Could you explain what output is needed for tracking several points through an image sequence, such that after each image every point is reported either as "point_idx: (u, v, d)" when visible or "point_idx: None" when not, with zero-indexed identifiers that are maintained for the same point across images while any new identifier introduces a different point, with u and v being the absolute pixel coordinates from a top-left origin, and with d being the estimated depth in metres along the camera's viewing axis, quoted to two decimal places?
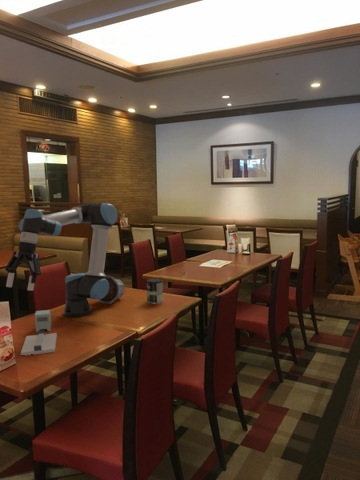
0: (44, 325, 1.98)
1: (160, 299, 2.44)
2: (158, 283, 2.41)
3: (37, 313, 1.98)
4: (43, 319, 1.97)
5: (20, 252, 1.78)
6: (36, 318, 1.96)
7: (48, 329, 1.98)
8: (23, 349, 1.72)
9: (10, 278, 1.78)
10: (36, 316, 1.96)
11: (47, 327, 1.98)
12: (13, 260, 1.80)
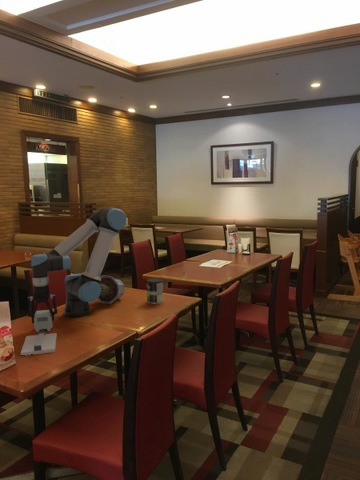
0: (44, 325, 1.98)
1: (160, 299, 2.44)
2: (158, 283, 2.41)
3: (37, 313, 1.98)
4: (43, 319, 1.97)
5: (35, 295, 1.97)
6: (36, 318, 1.96)
7: (48, 329, 1.98)
8: (23, 349, 1.72)
9: None
10: (36, 316, 1.96)
11: (47, 327, 1.98)
12: (30, 305, 1.98)
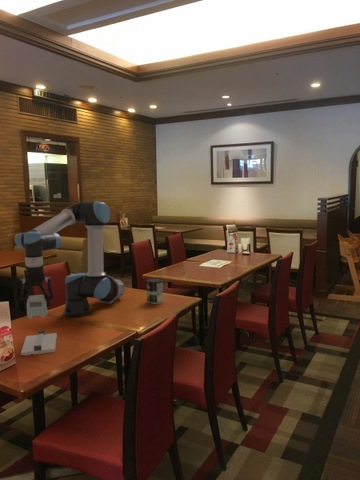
0: (38, 311, 1.75)
1: (160, 299, 2.44)
2: (158, 283, 2.41)
3: (30, 297, 1.76)
4: (37, 304, 1.74)
5: (28, 277, 1.75)
6: (29, 303, 1.74)
7: (42, 316, 1.76)
8: (23, 349, 1.72)
9: None
10: (28, 301, 1.74)
11: (41, 313, 1.76)
12: (23, 288, 1.75)
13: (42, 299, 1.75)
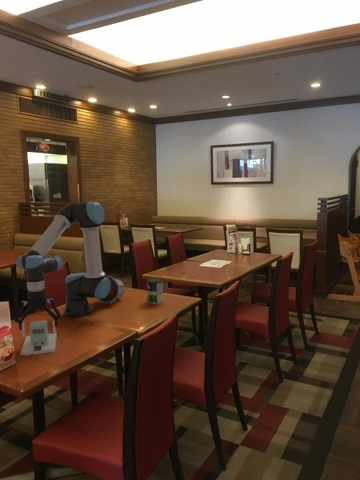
0: (40, 338, 1.76)
1: (160, 299, 2.44)
2: (158, 283, 2.41)
3: (32, 324, 1.77)
4: (39, 331, 1.76)
5: (31, 301, 1.76)
6: (31, 330, 1.75)
7: (45, 342, 1.77)
8: (23, 349, 1.72)
9: (23, 328, 1.77)
10: (31, 328, 1.75)
11: (43, 340, 1.77)
12: None
13: (44, 326, 1.76)
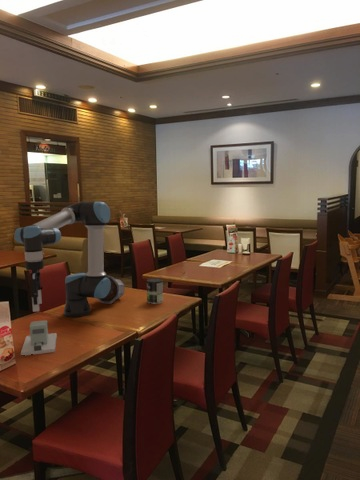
0: (40, 338, 1.76)
1: (160, 299, 2.44)
2: (158, 283, 2.41)
3: (32, 324, 1.77)
4: (39, 331, 1.76)
5: (37, 272, 1.73)
6: (31, 330, 1.75)
7: (45, 342, 1.77)
8: (23, 349, 1.72)
9: None
10: (31, 328, 1.75)
11: (43, 340, 1.77)
12: None
13: (44, 326, 1.76)
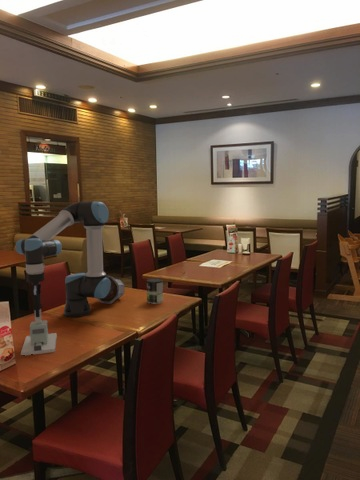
0: (40, 338, 1.76)
1: (160, 299, 2.44)
2: (158, 283, 2.41)
3: (32, 324, 1.77)
4: (39, 331, 1.76)
5: (37, 284, 1.74)
6: (31, 330, 1.75)
7: (45, 342, 1.77)
8: (23, 349, 1.72)
9: None
10: (31, 328, 1.75)
11: (43, 340, 1.77)
12: None
13: (44, 326, 1.76)
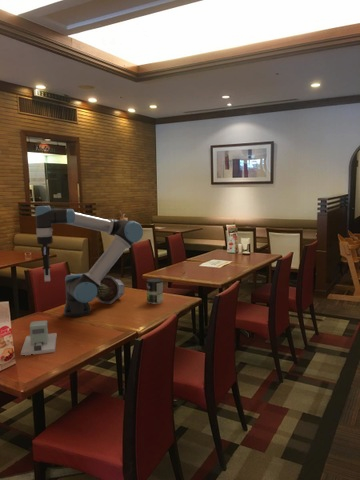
0: (40, 338, 1.76)
1: (160, 299, 2.44)
2: (158, 283, 2.41)
3: (32, 324, 1.77)
4: (39, 331, 1.76)
5: (47, 245, 1.97)
6: (31, 330, 1.75)
7: (45, 342, 1.77)
8: (23, 349, 1.72)
9: None
10: (31, 328, 1.75)
11: (43, 340, 1.77)
12: None
13: (44, 326, 1.76)
